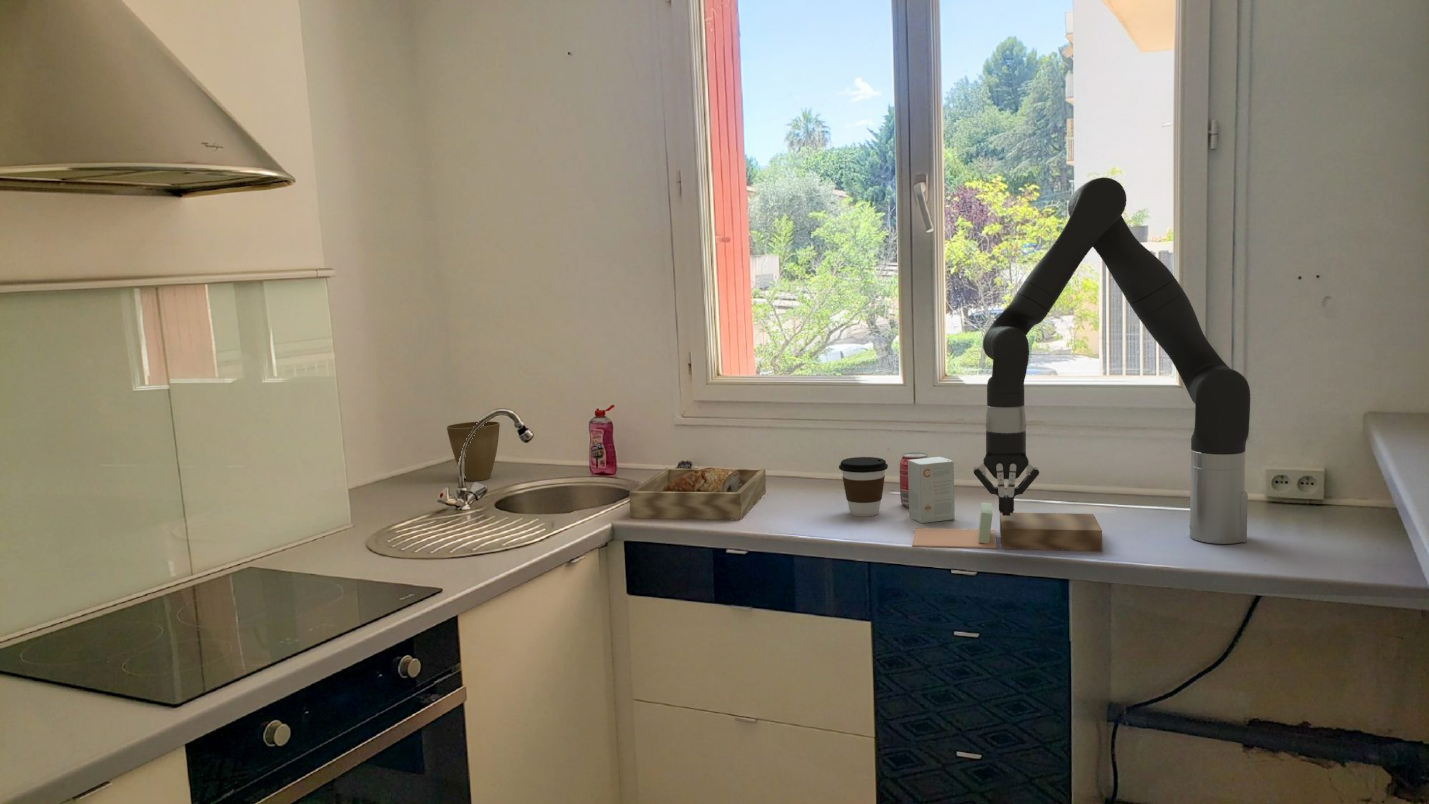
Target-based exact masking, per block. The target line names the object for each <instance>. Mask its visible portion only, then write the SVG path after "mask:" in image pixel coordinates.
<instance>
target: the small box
mask: <svg viewBox="0 0 1429 804" xmlns="http://www.w3.org/2000/svg"><path fill="white" fill-rule="evenodd" d="M954 463H955V462H954V460H951V459H949V458H946V457H943V456H933V457H928V458H922V459H912V460H908V485H909V507H908V509H909V510H908V512H909V514H908V515H909V518H911V519H913V520H914V521H916V522H918V523H920V524H926V523H927V524H928V523H934V522H941V521H942V522H943V521H950V520H955V518H956V517H955V516H956V514H955V513H956V511H955V510H956V509H955V508H956V506H955V473H954V472H955V470H954V469H955V467H954V466H955V465H954Z"/></svg>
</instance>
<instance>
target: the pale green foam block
mask: <svg viewBox="0 0 1429 804" xmlns="http://www.w3.org/2000/svg"><path fill="white" fill-rule="evenodd" d="M992 520H993V503H990V502H984V501H983V502H981V505H980V513H979V522H978V529H977V530H978V542H979V543H986V544H989V539H990V531H991V530H992Z"/></svg>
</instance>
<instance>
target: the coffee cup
mask: <svg viewBox="0 0 1429 804" xmlns="http://www.w3.org/2000/svg"><path fill="white" fill-rule="evenodd" d="M888 468H889V465H888V464H887V462H886V460H885V459H884V458H881V457H873V456H855V457H848V458H844V459H842V460H841V461H840V464H839V465H838V469H839V470H840V471H841V472H842V481H843V489H844V492H845V498H846V500H847V505H848V509H849V512H850V513H851V515H853V516H856V517H870V516H871V517H872V516H876V515H878V513H879V512H880V510H881V509H880V508H881V501H882V499H883V493H884V485H885V478H886V476H885V472H886V470H887V469H888Z"/></svg>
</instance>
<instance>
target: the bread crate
mask: <svg viewBox="0 0 1429 804" xmlns="http://www.w3.org/2000/svg"><path fill="white" fill-rule="evenodd" d="M700 469H701V468H664V469H663V470H661V471H660V472H658V473H657V474H655V475H653V476H652V477H650V478H649V479H647V480H646V481H644V482H643V483H641V484H640V485H638V486H637V487H635V488H634V489H632V490H630V491H629V492H628V496H629V511H630V512H629V513H630V518H631V519H632V518H633V519H684V520H685V519H686V520H689V519H690V520H729V519H730V520H731V519H733V520H734V519H736V521H737V520H739V519H740V520H739V521H741V520H742V519H743V518H745V516H747V514H748V513H749V512H750V511H751V510H752V509H753V508H754V507H755V505H756V504H757V503H758V502H759V501H760V500H761V499H762V498H763V497H764V495H766V494H767V478H766V474H767V473H766V468H731V469H732V470H737V471H739V473H740V475H741V481H740V483H741V485H742V487H741V488H740V489H739V490H738V491H737V492H660V490H661V489H663V487H664V486H665V485H667V484H668V483H669V482H671V481H672V480H674V479H676V478H678V477H680V476H682V475H684V474H686V473H689V472H693V471H696V470H700ZM733 520H731V521H733Z"/></svg>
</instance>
